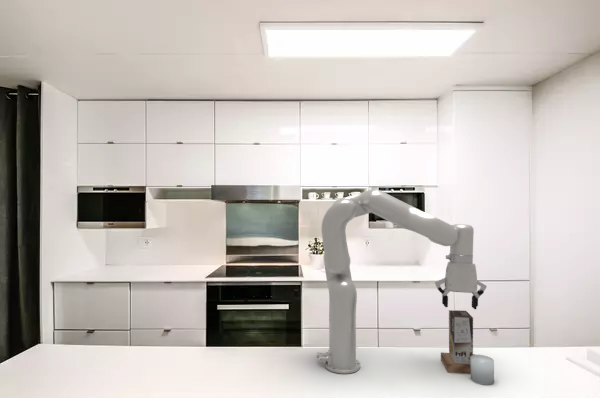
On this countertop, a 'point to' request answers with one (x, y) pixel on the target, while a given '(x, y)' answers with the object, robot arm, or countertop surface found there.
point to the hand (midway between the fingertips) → (459, 307)
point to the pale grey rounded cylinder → (482, 369)
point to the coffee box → (460, 336)
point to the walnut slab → (454, 365)
